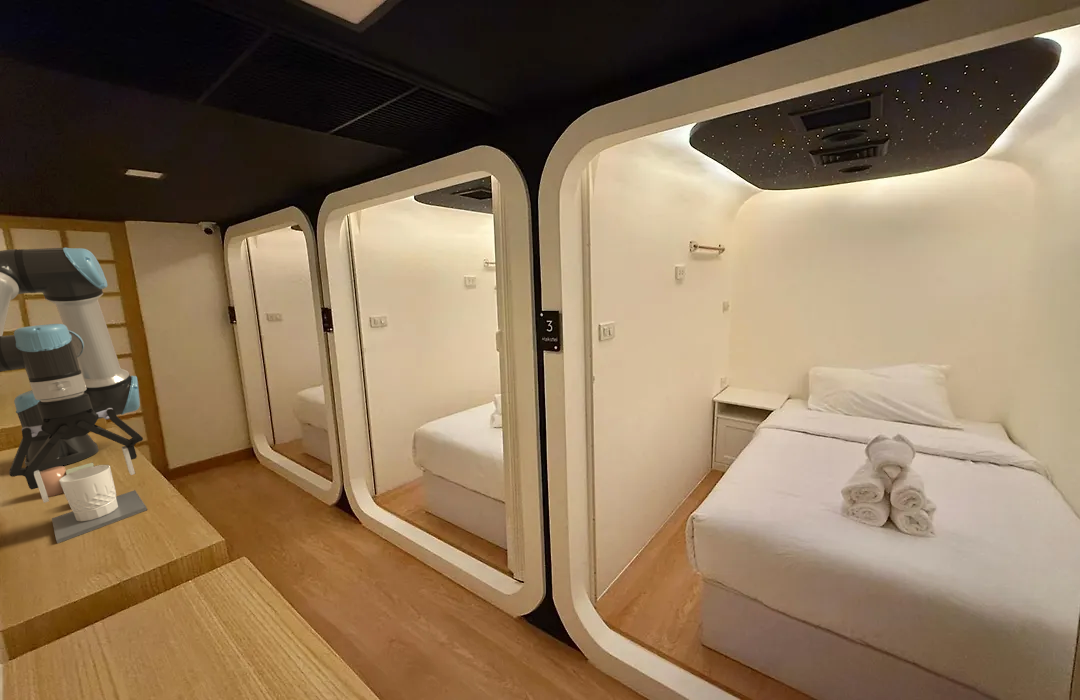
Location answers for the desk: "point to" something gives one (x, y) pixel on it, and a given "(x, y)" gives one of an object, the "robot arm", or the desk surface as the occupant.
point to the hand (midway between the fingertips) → (91, 485)
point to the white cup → (90, 492)
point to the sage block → (79, 468)
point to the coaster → (71, 527)
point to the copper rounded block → (53, 480)
